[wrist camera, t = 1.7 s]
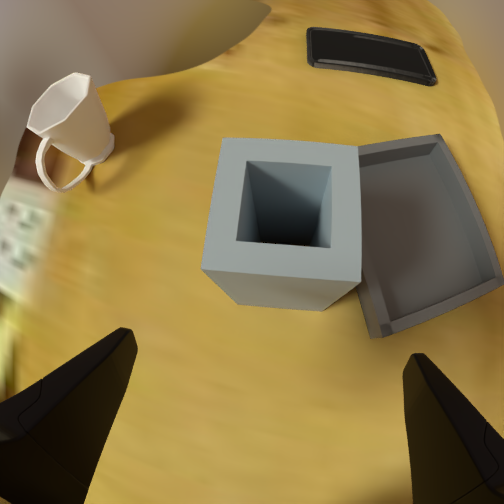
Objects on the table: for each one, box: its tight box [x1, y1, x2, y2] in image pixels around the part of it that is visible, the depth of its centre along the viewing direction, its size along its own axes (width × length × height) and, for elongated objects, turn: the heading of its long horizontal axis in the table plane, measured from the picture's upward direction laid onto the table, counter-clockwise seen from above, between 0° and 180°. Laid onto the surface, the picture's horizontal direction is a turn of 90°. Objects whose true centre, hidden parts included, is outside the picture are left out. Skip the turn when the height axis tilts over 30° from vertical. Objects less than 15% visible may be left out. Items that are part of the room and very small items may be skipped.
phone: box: [306, 27, 436, 86], centre depth 29 cm, size 8×1×15 cm
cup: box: [27, 72, 114, 193], centre depth 23 cm, size 7×10×8 cm
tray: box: [355, 134, 504, 339], centre depth 21 cm, size 14×12×3 cm
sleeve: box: [201, 138, 362, 311], centre depth 18 cm, size 8×6×11 cm
